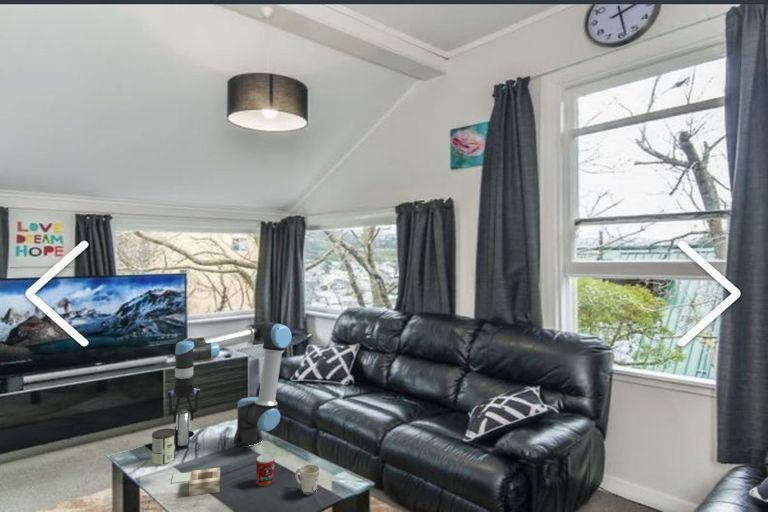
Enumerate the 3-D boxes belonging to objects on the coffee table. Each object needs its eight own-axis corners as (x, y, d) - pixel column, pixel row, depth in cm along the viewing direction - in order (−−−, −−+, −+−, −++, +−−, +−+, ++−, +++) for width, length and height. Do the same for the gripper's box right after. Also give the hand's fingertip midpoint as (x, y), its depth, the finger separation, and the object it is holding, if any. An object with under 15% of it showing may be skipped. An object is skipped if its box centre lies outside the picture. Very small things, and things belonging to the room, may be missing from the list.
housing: (219, 478, 210) (220, 467, 210) (219, 491, 199) (219, 480, 199) (191, 482, 206) (191, 471, 206) (189, 496, 195) (189, 484, 195)
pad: (192, 472, 215) (192, 471, 215) (191, 481, 207) (191, 480, 207) (173, 475, 212) (173, 474, 212) (171, 483, 205) (171, 482, 205)
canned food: (258, 488, 202) (258, 463, 202) (254, 480, 209) (254, 455, 209) (275, 484, 206) (276, 459, 206) (271, 476, 213) (271, 452, 213)
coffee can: (159, 455, 231) (159, 427, 231) (179, 457, 230) (179, 428, 230) (146, 465, 221) (147, 435, 221) (167, 467, 220) (168, 437, 220)
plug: (188, 441, 212) (189, 408, 212) (188, 445, 208) (188, 411, 208) (178, 442, 211) (178, 409, 210) (177, 446, 207) (177, 412, 206)
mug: (310, 499, 195) (310, 475, 194) (287, 490, 201) (288, 467, 201) (322, 490, 202) (323, 467, 202) (300, 482, 208) (301, 460, 208)
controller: (174, 443, 246) (174, 424, 246) (195, 445, 243) (195, 426, 243) (168, 446, 242) (169, 427, 242) (189, 449, 239) (190, 429, 239)
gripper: (205, 372, 215) (204, 423, 216) (163, 375, 210) (163, 427, 210) (204, 377, 208) (203, 429, 209) (161, 380, 202) (160, 433, 203)
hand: (183, 428), depth 209 cm, fingers closed on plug, 4 cm apart
